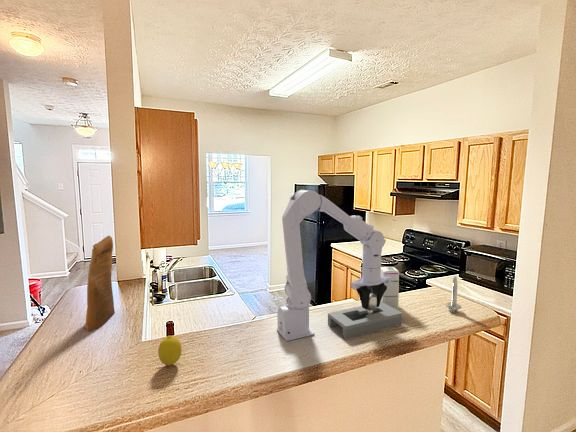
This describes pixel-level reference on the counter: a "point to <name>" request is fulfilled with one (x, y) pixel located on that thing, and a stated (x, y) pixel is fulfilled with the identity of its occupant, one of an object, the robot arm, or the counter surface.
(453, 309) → the screw
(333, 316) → the keyhole plate
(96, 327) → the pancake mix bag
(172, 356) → the lemon
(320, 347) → the counter surface
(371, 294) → the steel peg
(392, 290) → the syrup box
